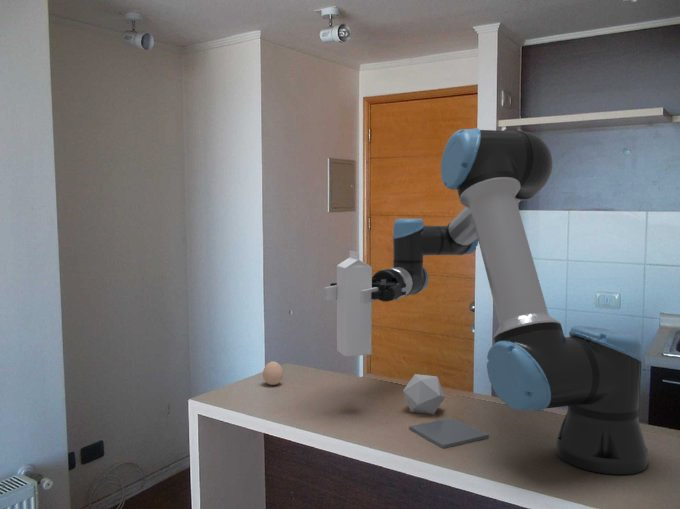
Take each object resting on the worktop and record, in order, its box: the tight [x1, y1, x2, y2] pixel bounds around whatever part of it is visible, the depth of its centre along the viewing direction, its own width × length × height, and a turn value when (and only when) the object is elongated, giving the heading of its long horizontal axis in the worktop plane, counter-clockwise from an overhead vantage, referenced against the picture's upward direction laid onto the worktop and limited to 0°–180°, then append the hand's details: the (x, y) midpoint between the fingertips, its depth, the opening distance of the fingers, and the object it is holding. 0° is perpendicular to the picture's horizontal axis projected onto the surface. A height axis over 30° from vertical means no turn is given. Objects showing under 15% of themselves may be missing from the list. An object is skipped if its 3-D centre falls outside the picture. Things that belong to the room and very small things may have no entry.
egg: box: [262, 361, 284, 386], centre depth 154 cm, size 5×5×6 cm
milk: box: [336, 250, 373, 357], centre depth 132 cm, size 6×6×22 cm
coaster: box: [408, 417, 489, 449], centre depth 121 cm, size 11×11×1 cm
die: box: [402, 373, 446, 416], centre depth 134 cm, size 8×9×10 cm
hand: (343, 295), depth 128 cm, fingers closed on milk, 8 cm apart
